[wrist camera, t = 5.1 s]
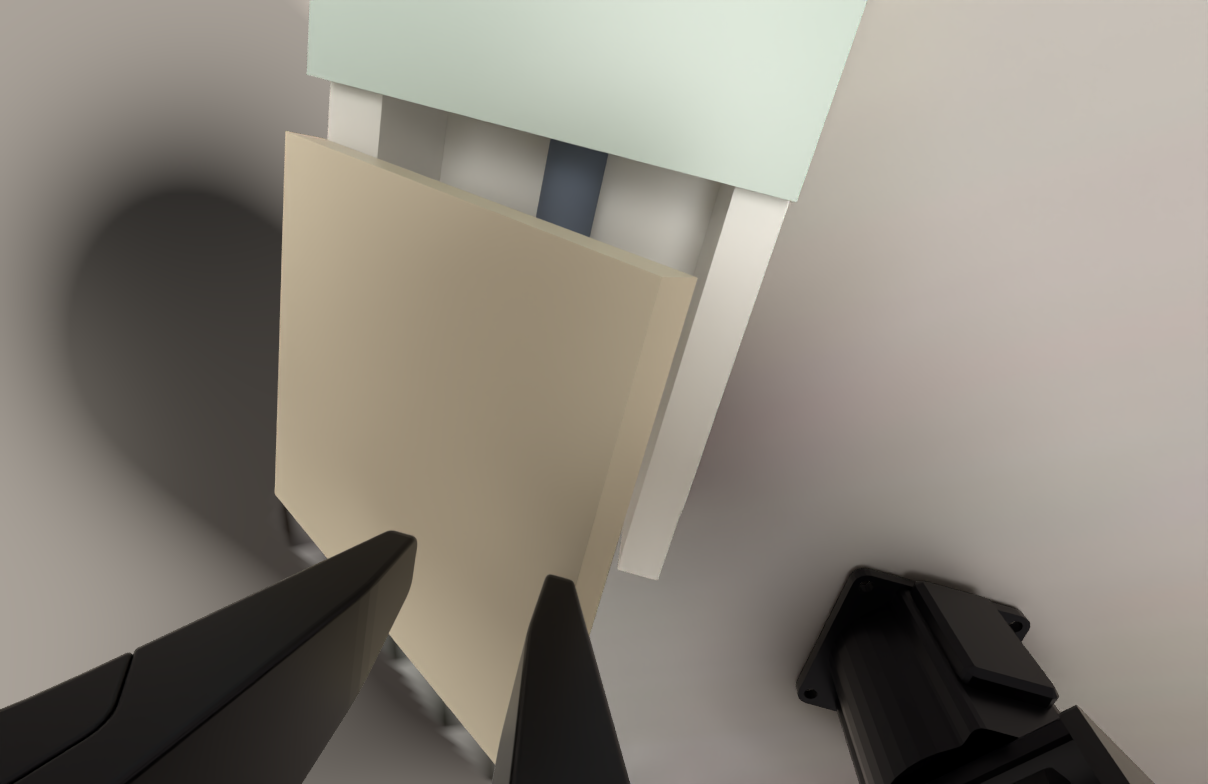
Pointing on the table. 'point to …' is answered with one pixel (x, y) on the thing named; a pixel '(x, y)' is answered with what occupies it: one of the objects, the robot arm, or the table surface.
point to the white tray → (629, 222)
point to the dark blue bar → (571, 186)
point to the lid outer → (611, 73)
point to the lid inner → (462, 401)
